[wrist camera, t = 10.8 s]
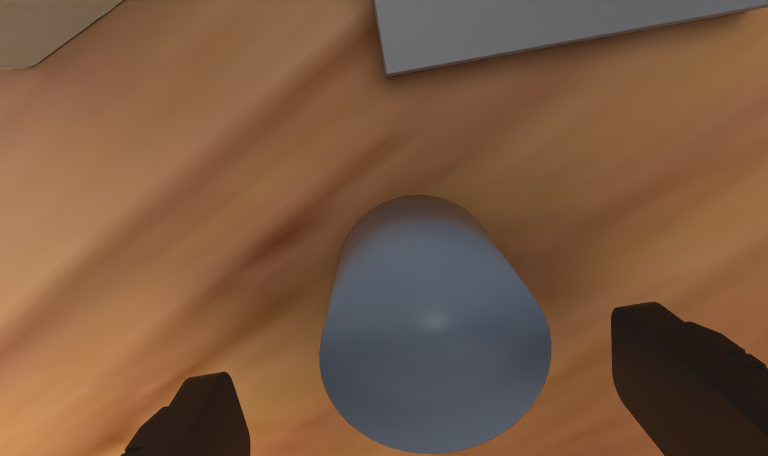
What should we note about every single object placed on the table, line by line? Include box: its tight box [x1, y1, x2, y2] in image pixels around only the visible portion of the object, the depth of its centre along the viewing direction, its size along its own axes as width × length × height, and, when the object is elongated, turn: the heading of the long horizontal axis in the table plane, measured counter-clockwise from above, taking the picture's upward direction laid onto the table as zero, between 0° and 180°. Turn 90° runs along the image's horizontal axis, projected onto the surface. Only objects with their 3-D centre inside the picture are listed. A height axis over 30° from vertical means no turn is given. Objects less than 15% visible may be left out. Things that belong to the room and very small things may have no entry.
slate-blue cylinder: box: [319, 195, 551, 454], centre depth 12 cm, size 5×5×5 cm
